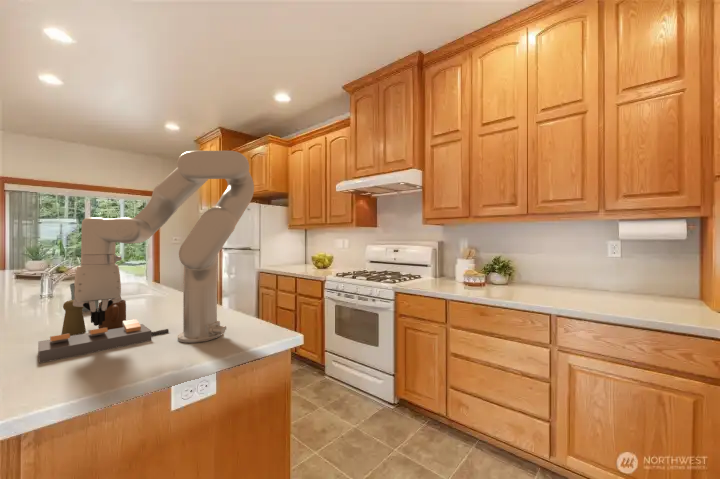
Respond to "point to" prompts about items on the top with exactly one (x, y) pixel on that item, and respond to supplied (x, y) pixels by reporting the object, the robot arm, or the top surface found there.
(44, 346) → the power strip
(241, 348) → the top surface
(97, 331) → the middle rocker
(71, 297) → the grey cup
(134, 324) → the block
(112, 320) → the mug
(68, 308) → the pepper mill
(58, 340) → the rocker
